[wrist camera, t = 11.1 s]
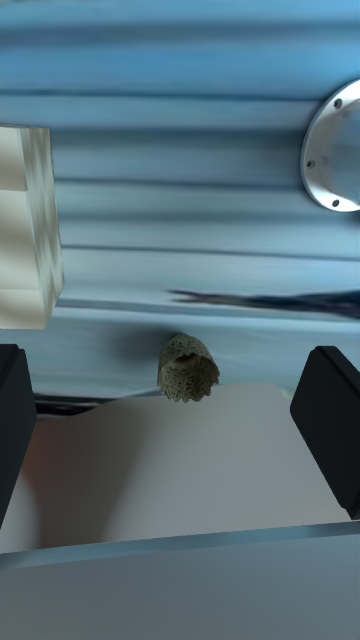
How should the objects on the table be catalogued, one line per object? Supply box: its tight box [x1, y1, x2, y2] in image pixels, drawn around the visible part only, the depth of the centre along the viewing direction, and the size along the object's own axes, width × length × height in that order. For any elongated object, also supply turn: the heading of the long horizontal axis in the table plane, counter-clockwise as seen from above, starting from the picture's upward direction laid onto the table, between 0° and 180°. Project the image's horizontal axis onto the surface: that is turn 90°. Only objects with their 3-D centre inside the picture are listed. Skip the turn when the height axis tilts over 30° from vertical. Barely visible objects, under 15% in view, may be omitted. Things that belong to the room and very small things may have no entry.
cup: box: [157, 333, 220, 403], centre depth 41 cm, size 8×7×8 cm
